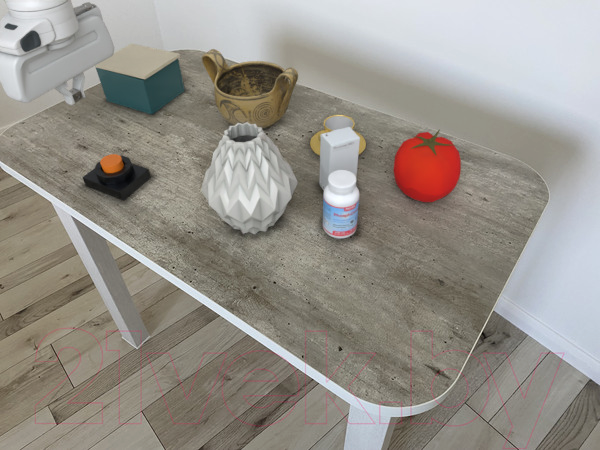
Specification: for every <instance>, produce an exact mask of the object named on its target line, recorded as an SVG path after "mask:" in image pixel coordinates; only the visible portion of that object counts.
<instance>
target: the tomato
mask: <svg viewBox="0 0 600 450" xmlns="http://www.w3.org/2000/svg"><path fill="white" fill-rule="evenodd" d="M440 131H441V129H438V130H437V131H436V133H435V134H434V135H433V134H431V133H430V132H429V131H424V132H419V133H417V134H416V135H415V136H414V135H412V137H411V138H407V139H406V140H404V141H402V143H401V144H400V146H399V147H398V148H397V150H396V153H395V155H394V160H393V161H394V162H393V175H394V180H395V184H396V186H397V188H398V189H399V190H400V191H401V192H402V193H403V194H404V195H405V196H407V197H409V198H410V199H412V200H414V201H418V202H422V203H434V202H436V201H438V200H440V199H442V198H445V197H446V196H448V195H450V193H452V191H454V189H455V188H456V187H457V185H458V182H459V180H460V177H461V173H462V172H461V171H462V170H461V169H462V165H461V164H462V161H461V160H462V159H461V155H460V152H459V150H458V149H457V147H456V145H455V144H454V143H453V141H452V140H450V139H448V138H447V137H443V136H438V135H439V133H440Z"/></svg>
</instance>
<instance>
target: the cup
mask: <svg viewBox="0 0 600 450" xmlns="http://www.w3.org/2000/svg"><path fill="white" fill-rule="evenodd" d="M355 125H356V123H355V120H354V119H353V118H352V117H351V116H348V115H344V114H333V115H330V116H328V117H326V118H324V120H323V128H324V129H322V130H319V131H317V132H315V133H314V135H313V136H312V137H311V138H310V141H309V146H310V149H311V150H312V151H313V152H314V154H316V155H318V156H319V157H320V139H321V134H324V133H328V132H331V131H333V130H337V129H343V128H346V127H351V129H352V130H353V131H354V132H355V133H356V134H357V135H358V136H359V137H360V144H359V155H361V154H362V153H363V152H364V151H365V149H366V147H367V146H366V145H367V142H366V139H365V137H364V136H363V135H362V134H361V133H359V132H358V131H356V130H355Z"/></svg>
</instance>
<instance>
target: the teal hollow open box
mask: <svg viewBox="0 0 600 450" xmlns="http://www.w3.org/2000/svg"><path fill="white" fill-rule="evenodd" d="M95 69H96V73H97V76H98V79H99V82H100V86H101V88H102V91H103V95H104V97H105V99H106V102H109V103H113V104H116V105H119V106H121V107H126V108H129V109H132V110H136V111H139V112H142V113H145V114H149V115H154V114H155V113H157V112H158V111H159V110H161V109H163V108H164V107H165V106H166V105H168V104H169V103H171V102H172V101H173V100H174V99H176V98H177V97H179V96H180V95H181V94H183V93H184V92H185V91H186V89H185V84H184V80H183V75H182V70H181V65H180V61H179V58H178V59H176V60H175V61H173V62H171V63H170V64H168V65H167V66H165V67H164V68H162V69H161V70H159V71H158V72H156V73H155V74H153V75H152V76H150V77H148V78H147V79H141V78H137V77H133V76H129V75H125V74H121V73H117V72H112V71H108V70H104V69H100V68H96V67H95Z"/></svg>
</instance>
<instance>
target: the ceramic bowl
mask: <svg viewBox="0 0 600 450" xmlns="http://www.w3.org/2000/svg"><path fill="white" fill-rule="evenodd" d="M201 62H202V64H203V67H204V69H205V71H206V73H207V74H208V76H209V78H210V80H211V81H212V83H213V85H214V86H213V87H214V88H213V93H214V94H213V95H214V101H215V104H216V107H217V110H218V111H219V113H220V115H221V116H222V118H224V120H225V121H227V122H228V123H229V124H230V125H231V126H235V125H236V124H237V123H241V124H244V123H246V122H248V123H249V124H256V125H257V127H261V128H262V130H263V129H266V128H269V127H271V126H273V125H274V124H276V123H277V122H278V121H279V120H280V119H281V118H282V117H284V115H285V113H286V112H287V110H288V107H289V104H290V101H291V99H292V98H291V97H292V94H293V92H294V89H295V88H296V85H297V82H298V80H299V79H298V78H299V74H298V70H297V69H295V68H294V67H287V68H286V69H284V68H283V66H281V65H279V64H276V63H274V62H271V61H266V60H265V61H263V60H252V61H251V60H249V61H248V60H247V61H242V62H238V63H234V64H233V65H228V64H227V62H226V59H225V58H224V55H223V54H222V53H221V52H220V51H219V50H218V49H215V48H211V49H209V50H208V51H207V52H205V53H204V54H203V55H202V56H201Z"/></svg>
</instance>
